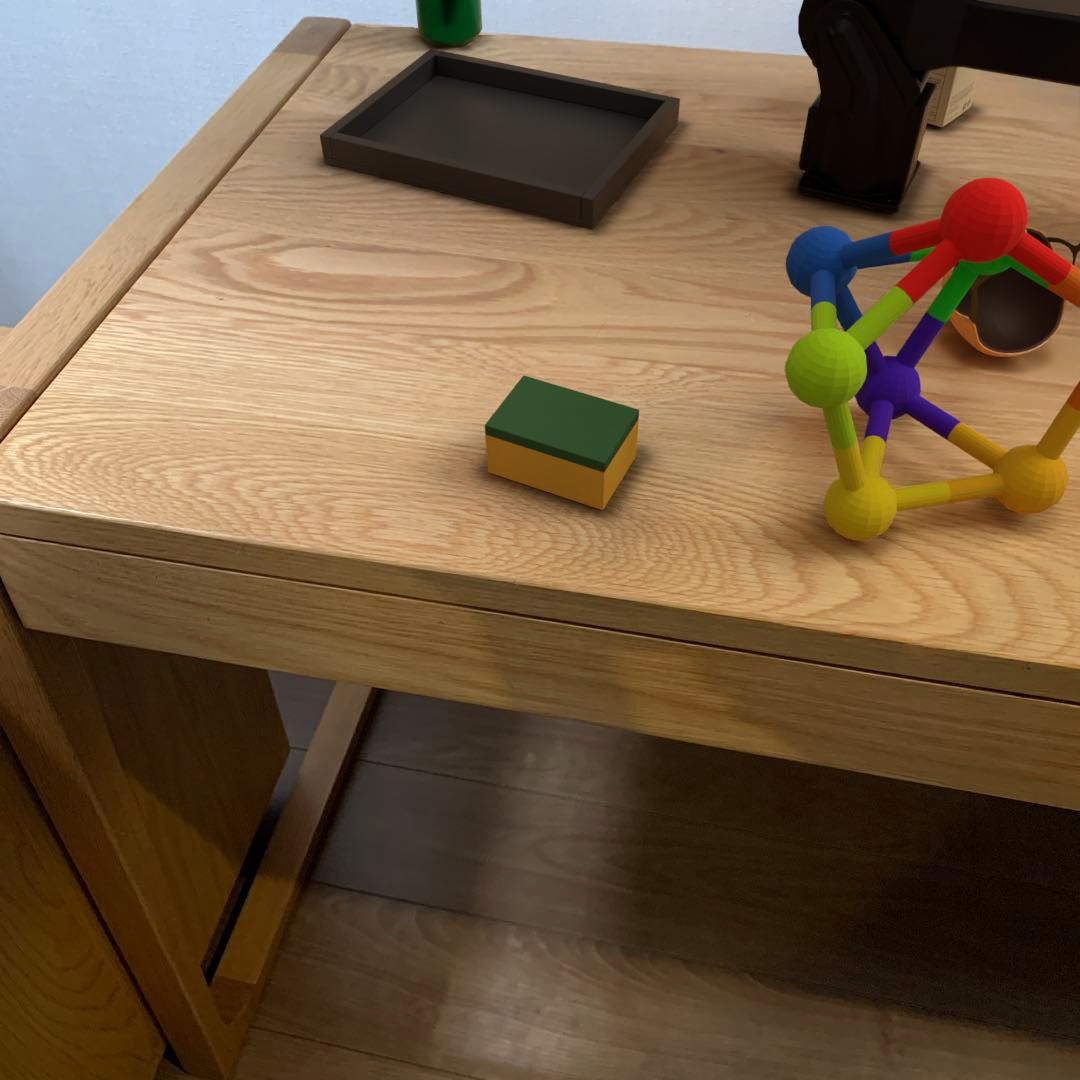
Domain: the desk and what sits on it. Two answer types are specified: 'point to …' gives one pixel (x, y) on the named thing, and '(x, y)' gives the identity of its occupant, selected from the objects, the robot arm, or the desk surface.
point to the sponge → (562, 441)
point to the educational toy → (918, 355)
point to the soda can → (449, 21)
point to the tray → (505, 135)
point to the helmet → (1010, 309)
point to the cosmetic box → (952, 93)
